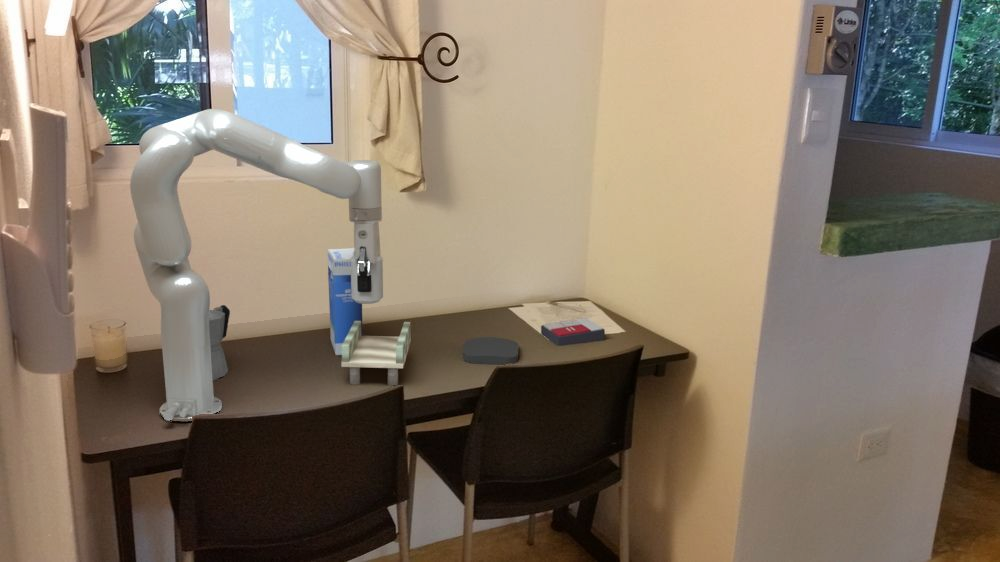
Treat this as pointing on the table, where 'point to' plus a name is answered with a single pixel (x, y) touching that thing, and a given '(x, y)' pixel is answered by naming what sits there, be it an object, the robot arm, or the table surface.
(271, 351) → the table surface
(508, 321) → the table surface
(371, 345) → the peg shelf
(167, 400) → the robot arm
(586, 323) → the red and grey box
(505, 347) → the media streaming box
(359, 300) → the can
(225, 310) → the coffeepot
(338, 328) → the string lights box
